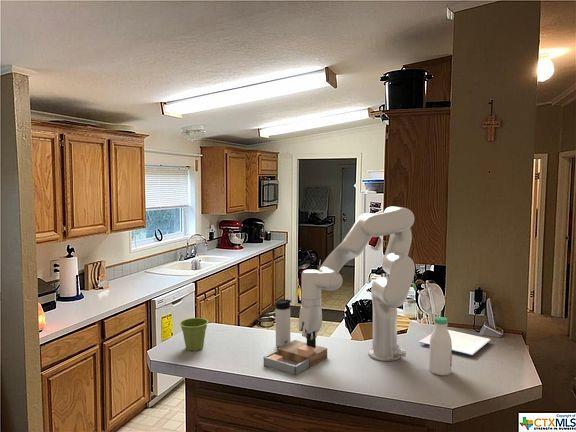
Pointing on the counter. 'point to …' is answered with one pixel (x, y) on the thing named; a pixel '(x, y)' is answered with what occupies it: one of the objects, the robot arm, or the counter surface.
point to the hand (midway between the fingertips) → (311, 348)
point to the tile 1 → (276, 357)
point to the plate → (463, 342)
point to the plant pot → (194, 332)
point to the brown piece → (291, 354)
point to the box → (286, 365)
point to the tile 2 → (305, 351)
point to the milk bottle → (440, 348)
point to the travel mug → (282, 322)
